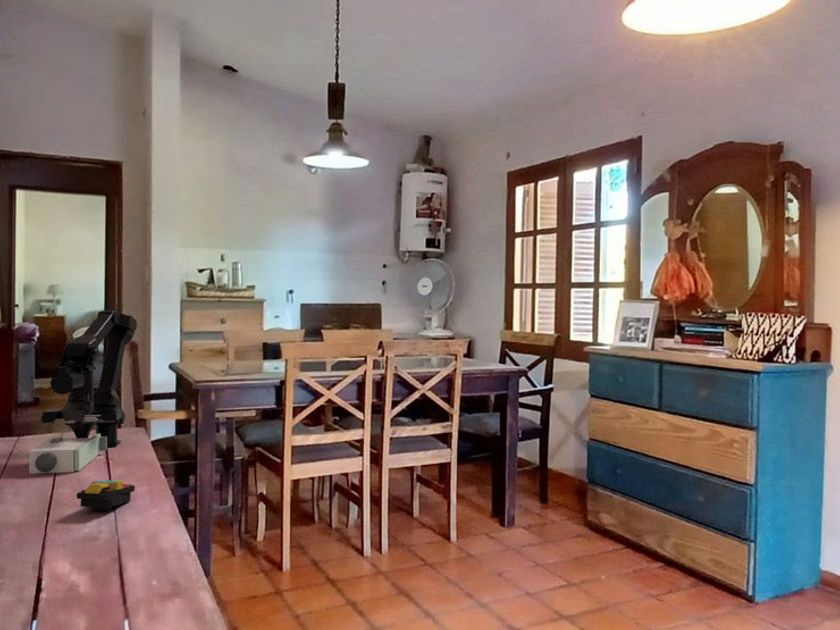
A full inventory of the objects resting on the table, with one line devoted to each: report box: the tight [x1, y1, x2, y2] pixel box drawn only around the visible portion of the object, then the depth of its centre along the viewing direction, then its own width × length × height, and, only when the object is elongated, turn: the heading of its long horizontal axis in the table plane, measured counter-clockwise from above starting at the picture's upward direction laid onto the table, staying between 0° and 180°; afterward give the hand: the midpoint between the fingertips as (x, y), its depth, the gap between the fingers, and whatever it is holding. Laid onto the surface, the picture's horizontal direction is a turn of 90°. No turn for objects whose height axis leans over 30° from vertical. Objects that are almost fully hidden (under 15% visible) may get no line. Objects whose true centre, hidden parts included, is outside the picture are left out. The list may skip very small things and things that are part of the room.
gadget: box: [76, 479, 136, 512], centre depth 146 cm, size 6×13×6 cm, turn 173°
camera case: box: [28, 437, 91, 475], centre depth 178 cm, size 15×10×6 cm, turn 10°
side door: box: [74, 433, 108, 472], centre depth 183 cm, size 19×3×5 cm, turn 10°
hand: (82, 447), depth 188 cm, fingers closed
